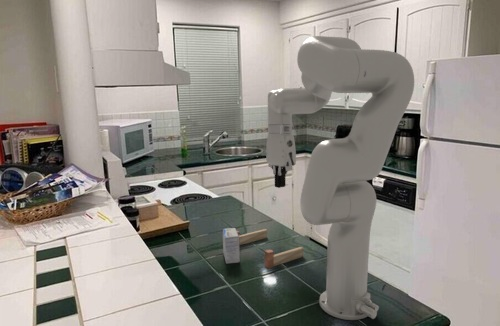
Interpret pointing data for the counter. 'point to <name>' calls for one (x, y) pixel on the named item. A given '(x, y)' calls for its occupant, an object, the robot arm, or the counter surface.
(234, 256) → the medicine box
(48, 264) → the counter surface
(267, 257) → the channel
